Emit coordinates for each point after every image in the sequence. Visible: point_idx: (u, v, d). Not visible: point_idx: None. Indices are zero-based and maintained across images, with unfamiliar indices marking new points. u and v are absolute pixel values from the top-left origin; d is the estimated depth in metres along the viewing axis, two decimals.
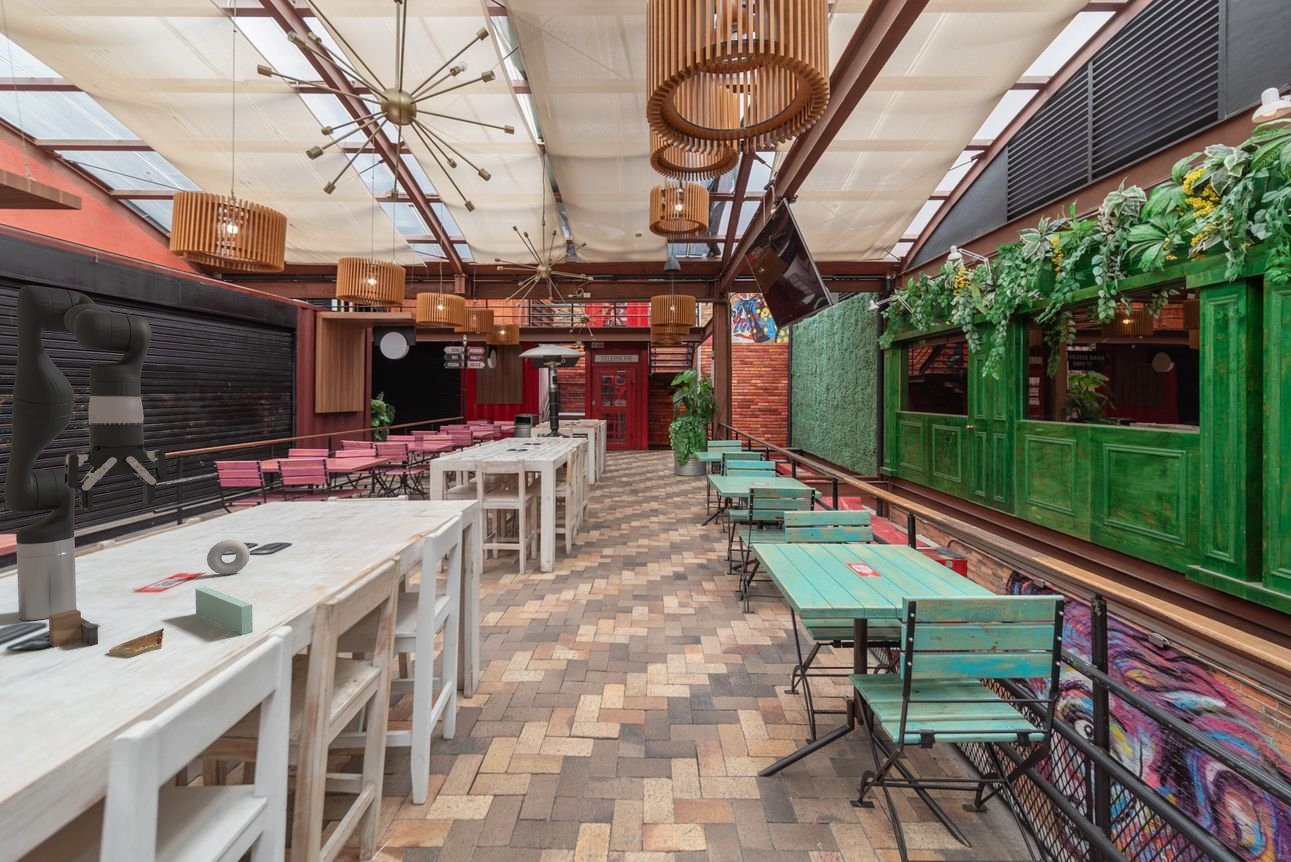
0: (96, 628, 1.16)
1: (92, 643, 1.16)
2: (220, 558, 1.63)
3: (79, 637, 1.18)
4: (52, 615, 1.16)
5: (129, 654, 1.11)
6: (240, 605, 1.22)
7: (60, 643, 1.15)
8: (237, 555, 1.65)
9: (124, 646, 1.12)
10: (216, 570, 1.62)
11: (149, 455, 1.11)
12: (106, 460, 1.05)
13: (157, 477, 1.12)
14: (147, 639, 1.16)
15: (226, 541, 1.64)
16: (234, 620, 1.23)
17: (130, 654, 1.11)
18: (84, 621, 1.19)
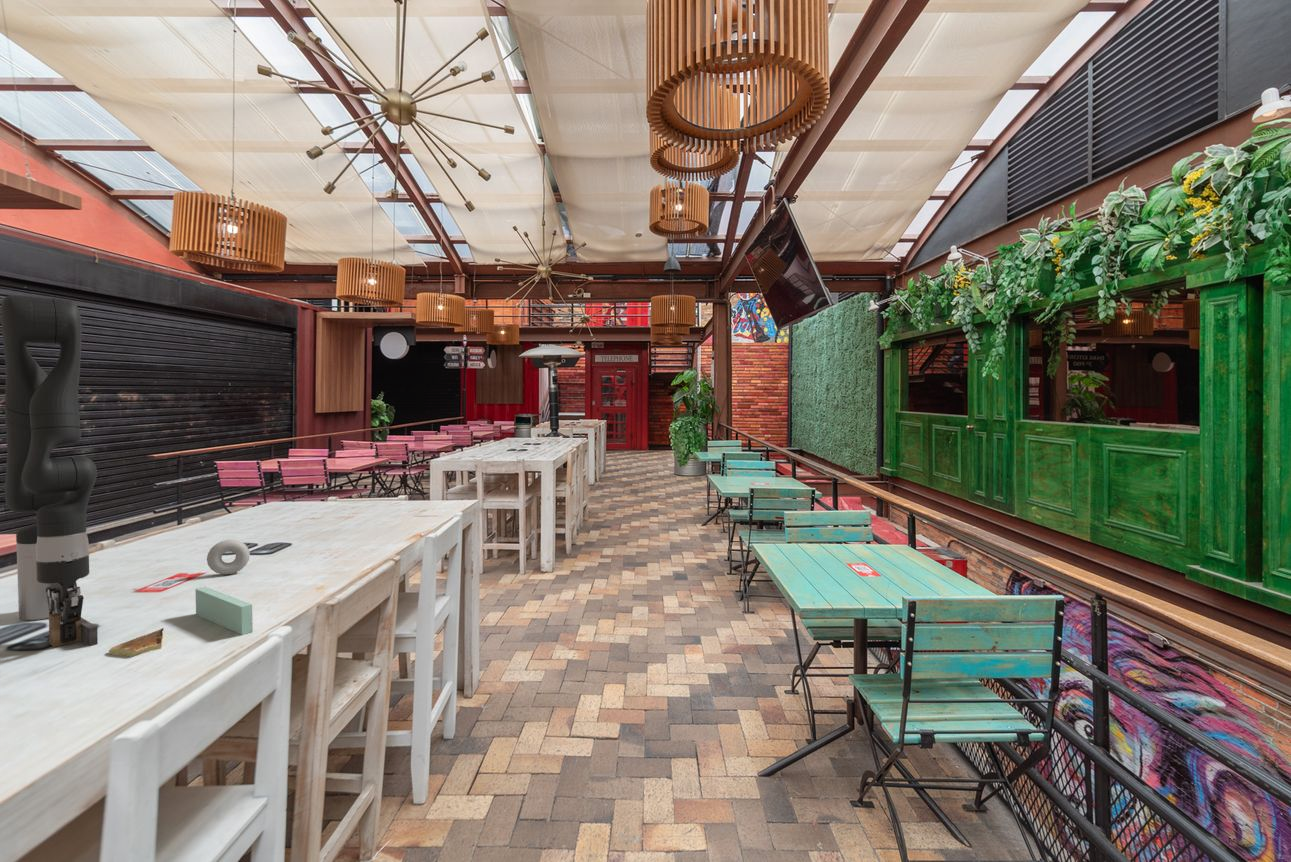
0: (96, 628, 1.16)
1: (92, 643, 1.16)
2: (220, 558, 1.63)
3: (78, 637, 1.18)
4: (52, 614, 1.16)
5: (129, 654, 1.11)
6: (240, 605, 1.22)
7: (60, 643, 1.15)
8: (237, 555, 1.65)
9: (124, 646, 1.12)
10: (216, 570, 1.62)
11: None
12: (77, 592, 1.17)
13: None
14: (146, 639, 1.16)
15: (226, 541, 1.64)
16: (234, 620, 1.23)
17: (130, 654, 1.11)
18: (84, 621, 1.19)
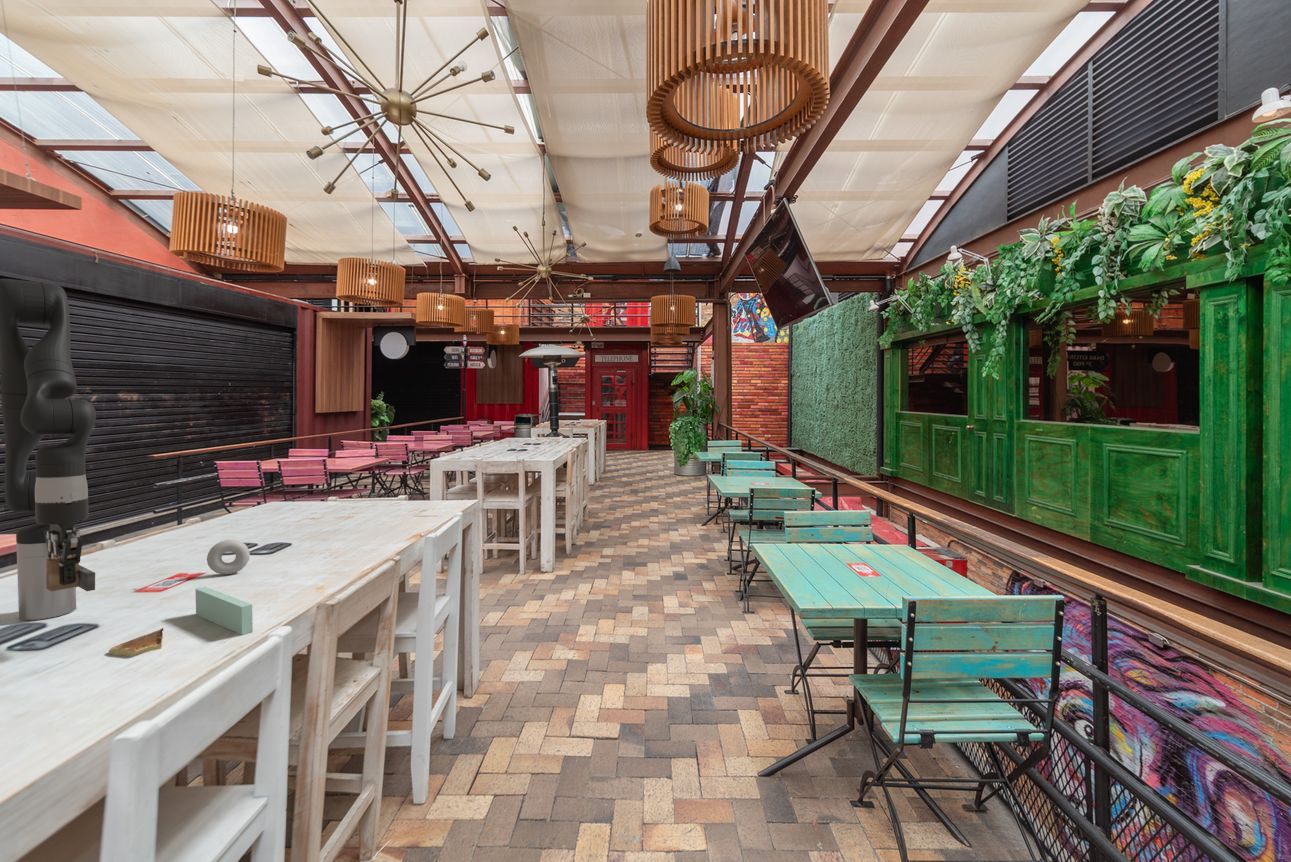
0: (94, 574, 1.16)
1: (89, 588, 1.15)
2: (220, 558, 1.63)
3: (76, 583, 1.17)
4: (50, 559, 1.15)
5: (129, 654, 1.11)
6: (240, 605, 1.22)
7: (57, 587, 1.15)
8: (237, 555, 1.65)
9: (124, 646, 1.12)
10: (216, 570, 1.62)
11: None
12: (76, 534, 1.17)
13: None
14: (146, 639, 1.16)
15: (226, 541, 1.64)
16: (234, 620, 1.23)
17: (130, 654, 1.11)
18: (81, 567, 1.19)
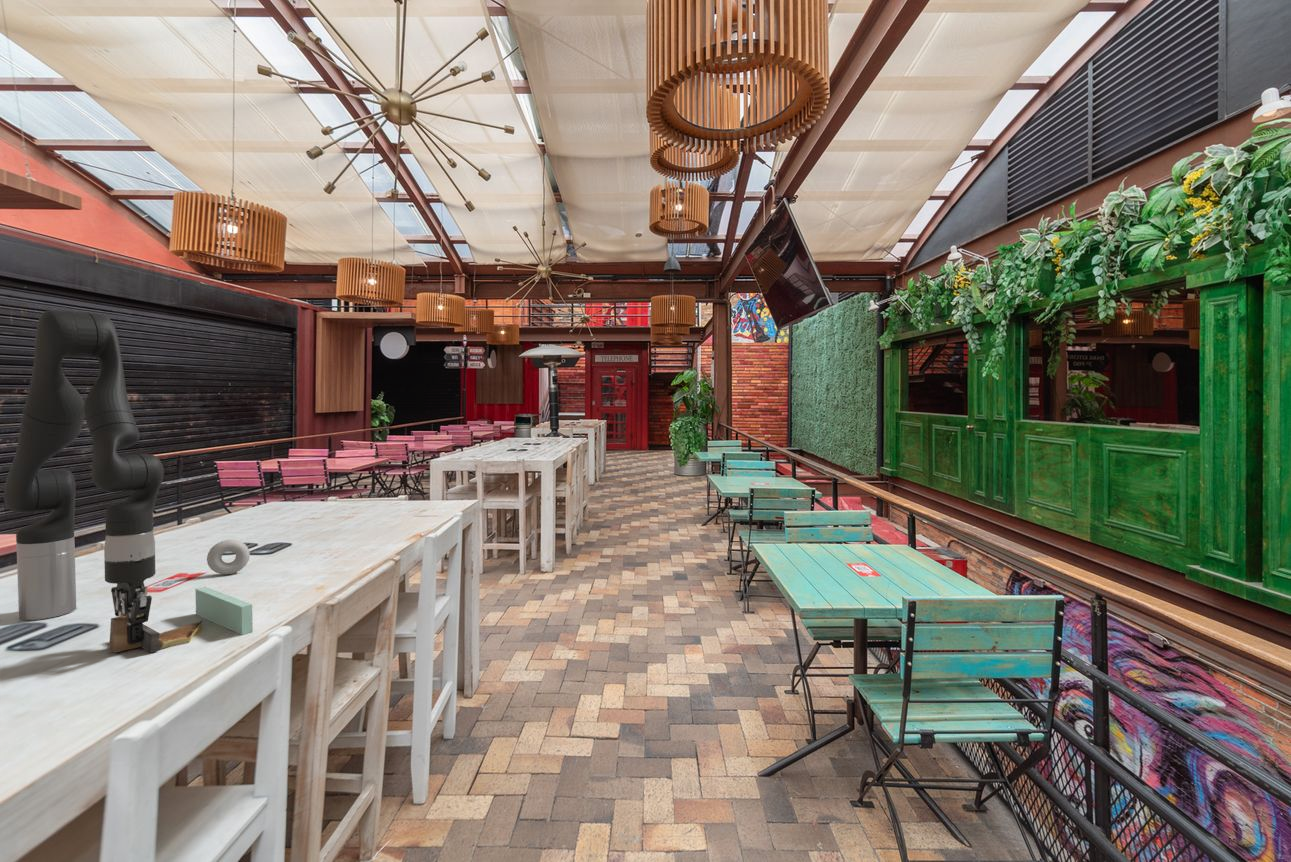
0: (158, 634, 1.13)
1: (153, 650, 1.12)
2: (220, 558, 1.63)
3: (138, 643, 1.14)
4: (114, 619, 1.13)
5: (159, 645, 1.15)
6: (240, 605, 1.22)
7: (120, 648, 1.12)
8: (237, 555, 1.65)
9: None
10: (216, 570, 1.62)
11: None
12: None
13: (129, 609, 1.17)
14: (181, 631, 1.20)
15: (226, 541, 1.64)
16: (234, 620, 1.23)
17: (160, 646, 1.15)
18: (144, 626, 1.16)
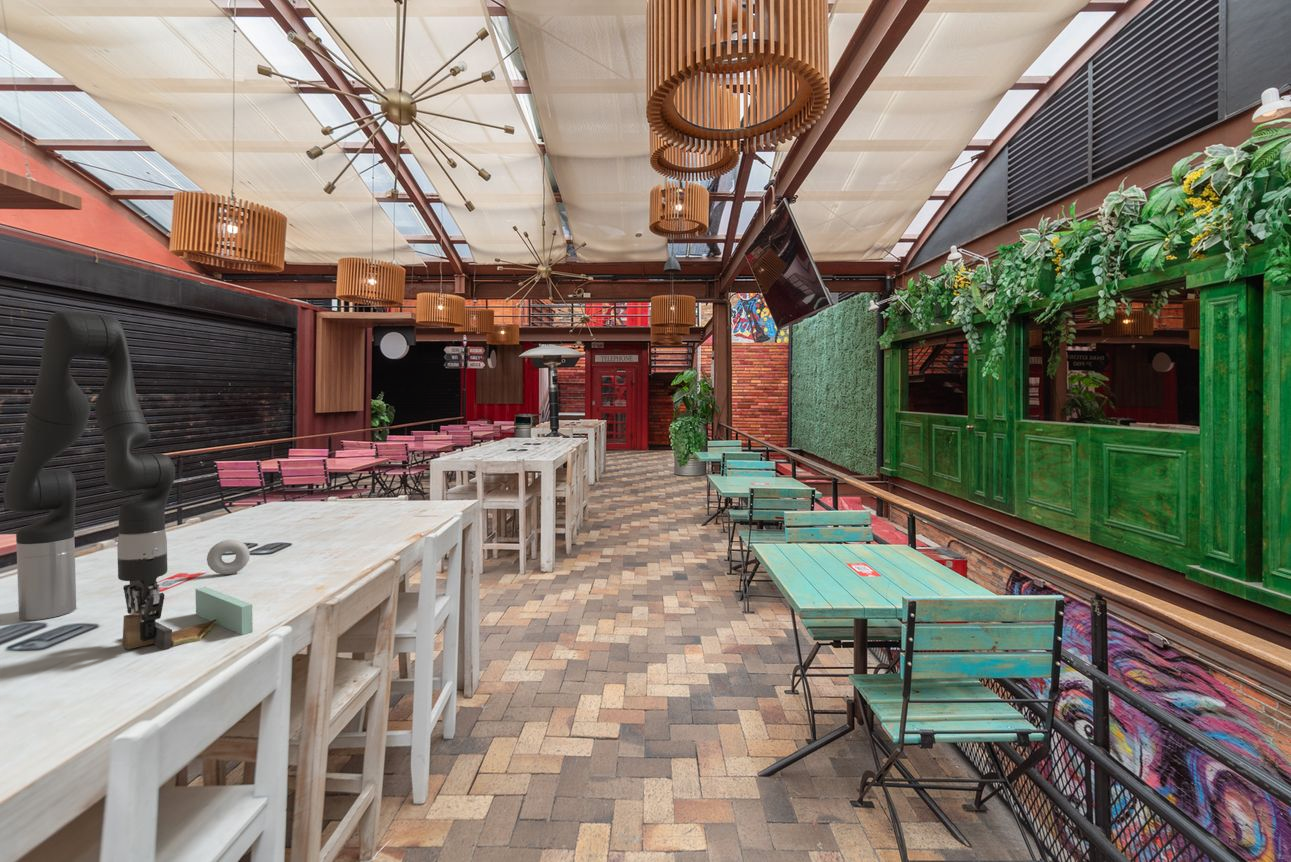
0: (170, 631, 1.15)
1: (166, 646, 1.14)
2: (220, 558, 1.63)
3: (151, 640, 1.16)
4: (127, 616, 1.14)
5: None
6: (240, 605, 1.22)
7: (133, 645, 1.14)
8: (237, 555, 1.65)
9: None
10: (216, 570, 1.62)
11: None
12: (156, 589, 1.16)
13: None
14: (193, 629, 1.21)
15: (226, 541, 1.64)
16: (234, 620, 1.23)
17: (171, 644, 1.16)
18: (156, 623, 1.18)
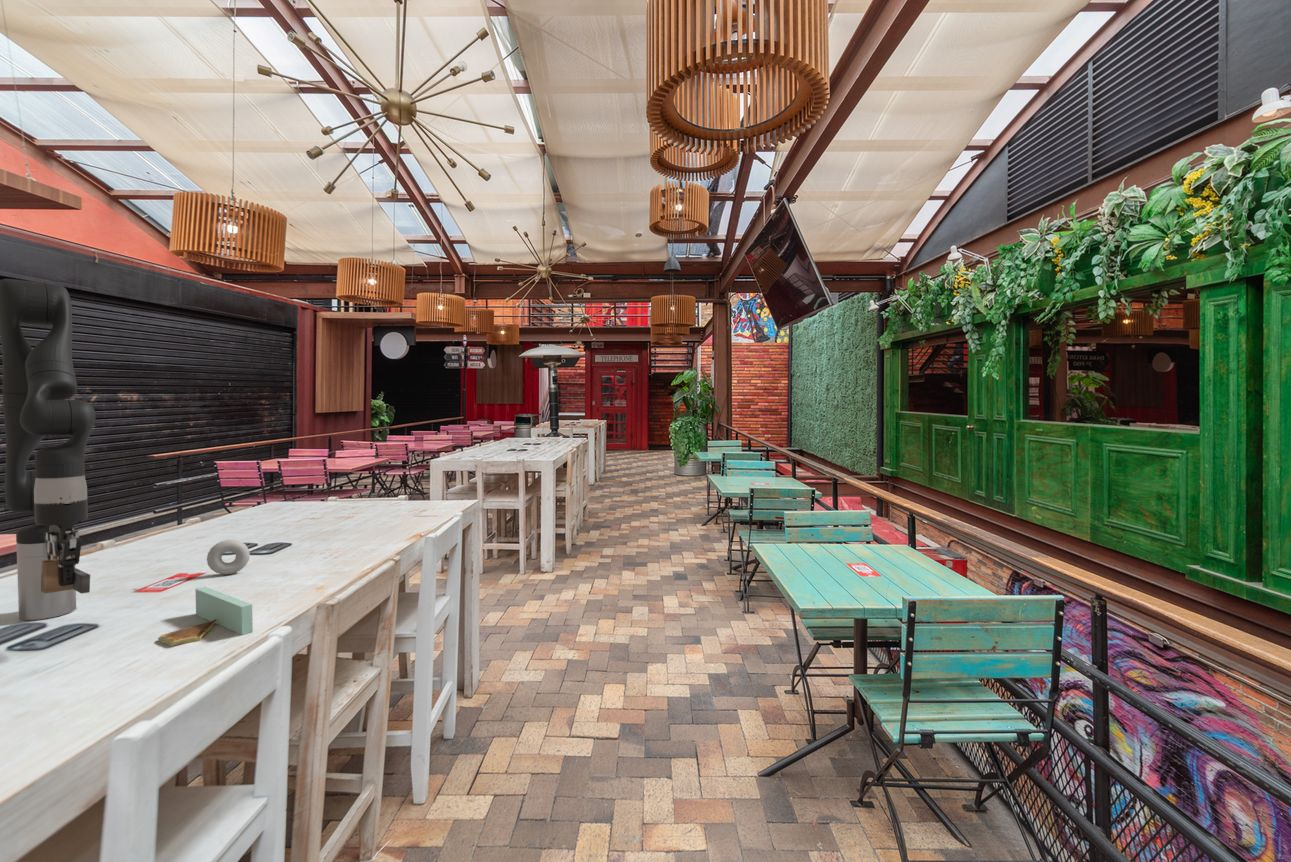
0: (88, 576, 1.15)
1: (83, 591, 1.14)
2: (220, 558, 1.63)
3: (70, 586, 1.16)
4: (45, 561, 1.15)
5: (170, 644, 1.16)
6: (240, 605, 1.22)
7: (51, 590, 1.14)
8: (237, 555, 1.65)
9: (169, 635, 1.18)
10: (216, 570, 1.62)
11: None
12: (75, 535, 1.16)
13: None
14: (193, 630, 1.21)
15: (226, 541, 1.64)
16: (234, 620, 1.23)
17: (170, 644, 1.16)
18: (77, 570, 1.18)
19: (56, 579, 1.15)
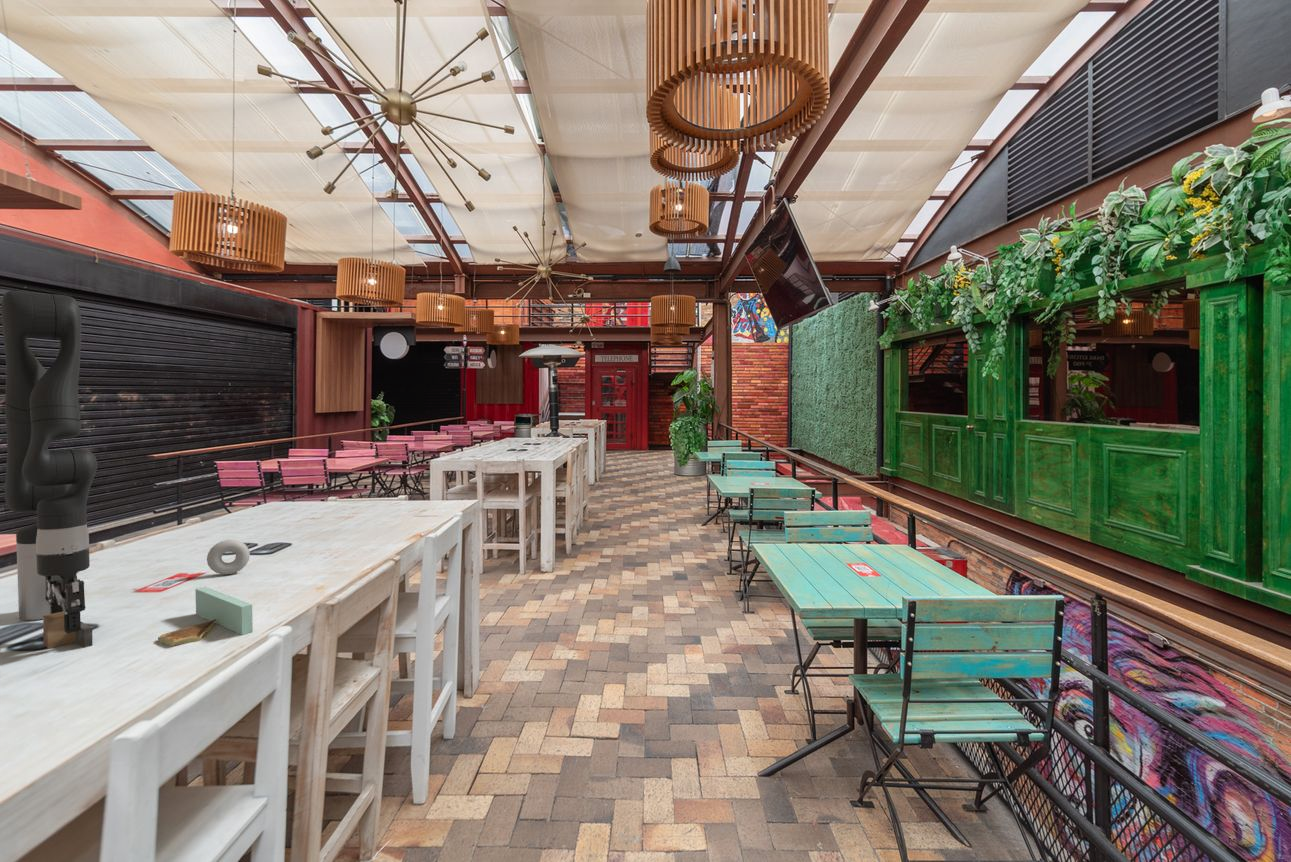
0: (90, 629, 1.15)
1: (86, 644, 1.15)
2: (220, 558, 1.63)
3: (73, 638, 1.17)
4: (46, 616, 1.15)
5: (170, 643, 1.16)
6: (240, 605, 1.22)
7: (54, 644, 1.15)
8: (237, 555, 1.65)
9: (169, 635, 1.18)
10: (216, 570, 1.62)
11: None
12: None
13: None
14: (193, 629, 1.21)
15: (226, 541, 1.64)
16: (234, 620, 1.23)
17: (170, 644, 1.16)
18: None
19: (58, 633, 1.15)
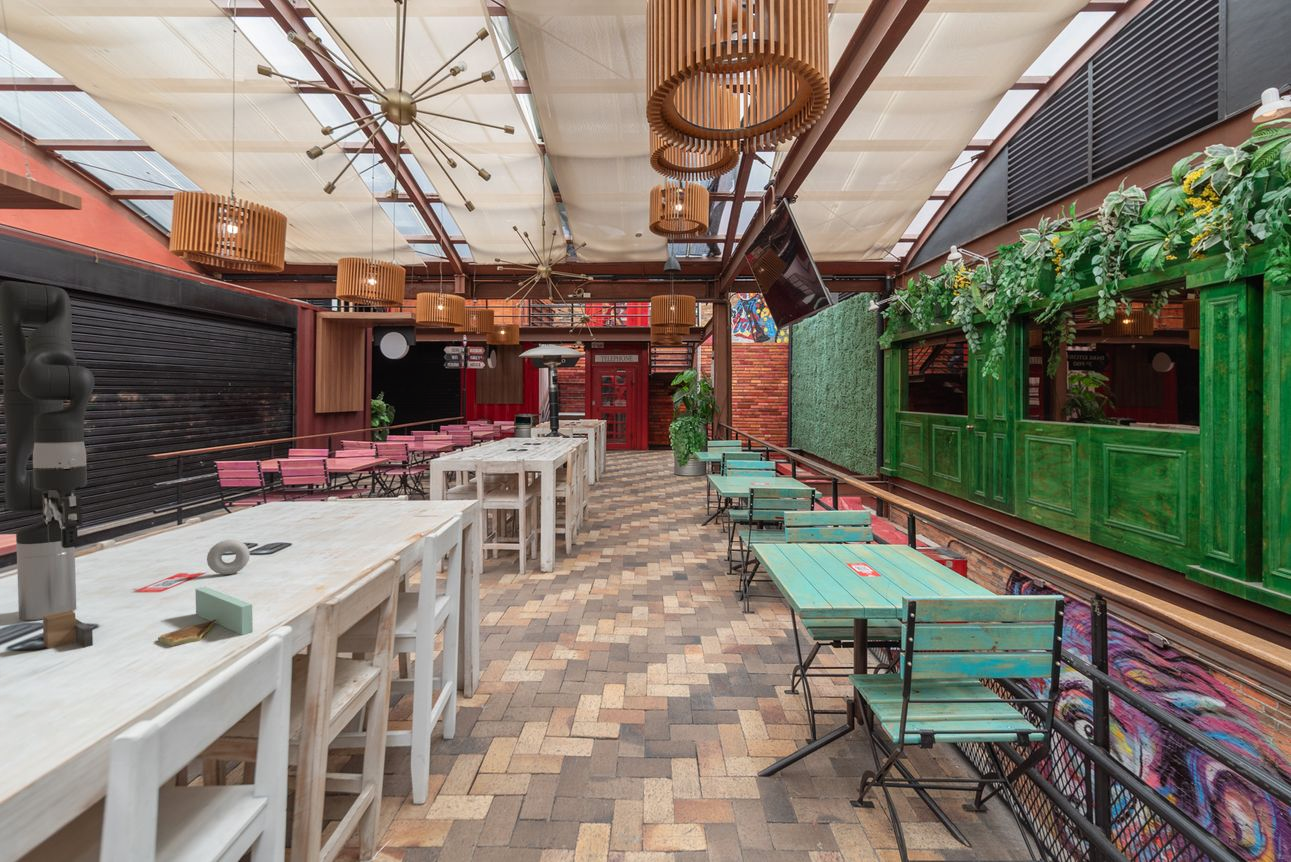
0: (91, 630, 1.15)
1: (87, 644, 1.15)
2: (220, 558, 1.63)
3: (73, 639, 1.17)
4: (46, 616, 1.15)
5: (170, 644, 1.16)
6: (240, 605, 1.22)
7: (54, 644, 1.15)
8: (237, 555, 1.65)
9: (169, 635, 1.18)
10: (216, 570, 1.62)
11: None
12: None
13: None
14: (192, 629, 1.21)
15: (226, 541, 1.64)
16: (234, 620, 1.23)
17: (170, 644, 1.16)
18: (78, 622, 1.18)
19: (58, 634, 1.15)
